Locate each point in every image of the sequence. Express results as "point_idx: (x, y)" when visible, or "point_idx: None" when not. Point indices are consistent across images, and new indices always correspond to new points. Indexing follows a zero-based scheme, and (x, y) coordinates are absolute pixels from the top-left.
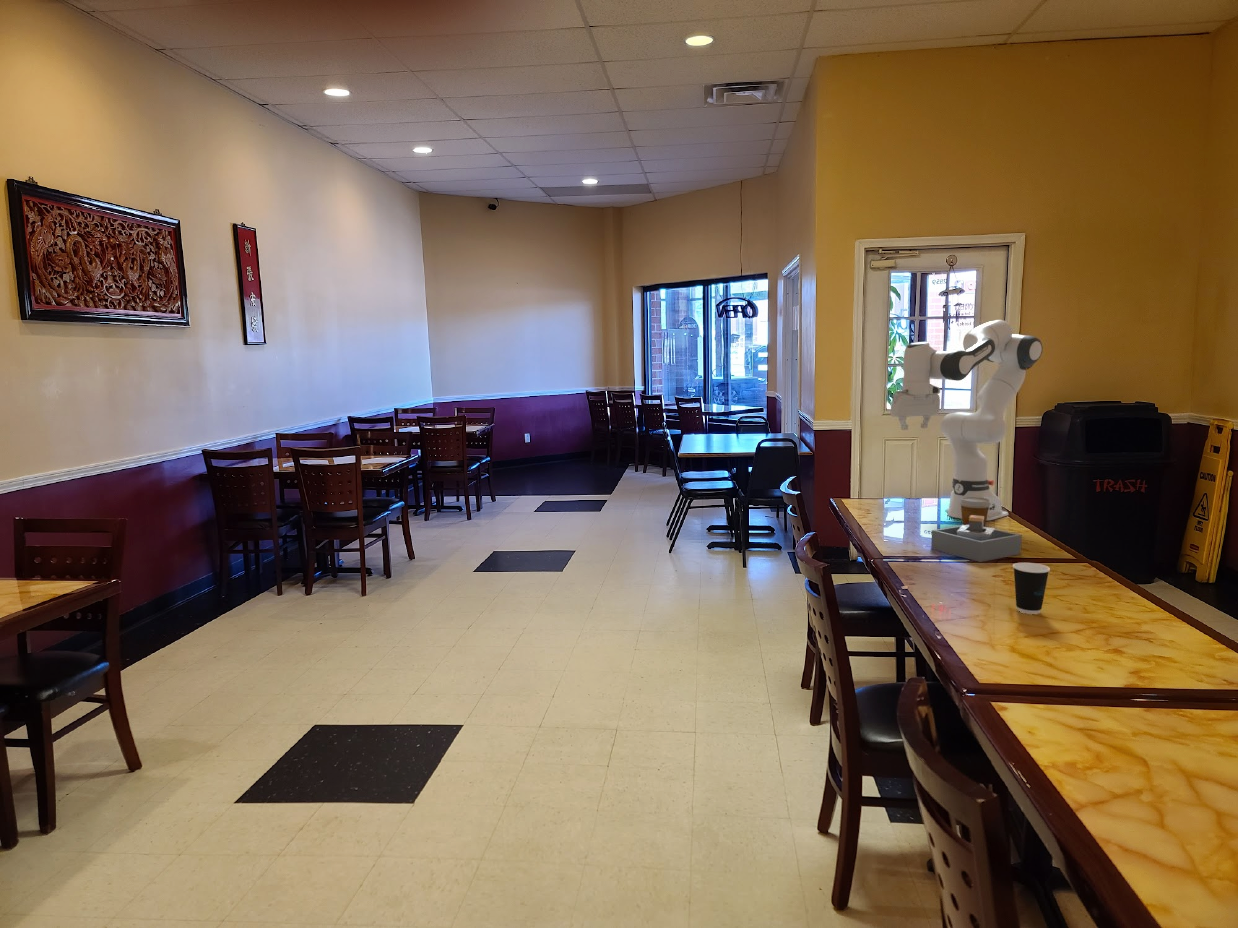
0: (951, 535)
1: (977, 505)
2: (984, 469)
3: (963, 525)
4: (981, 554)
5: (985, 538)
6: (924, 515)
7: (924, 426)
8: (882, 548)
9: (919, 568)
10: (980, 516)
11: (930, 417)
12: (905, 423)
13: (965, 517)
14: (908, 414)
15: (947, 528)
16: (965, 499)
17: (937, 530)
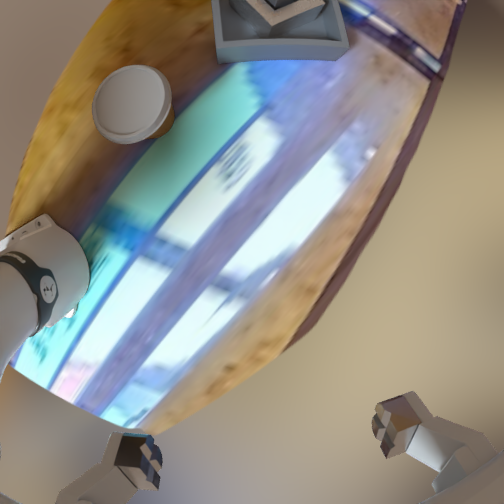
0: (339, 7)
1: (154, 69)
2: None
3: (274, 22)
4: None
5: None
6: (130, 311)
7: (145, 445)
8: (408, 112)
9: (416, 15)
10: None
11: (58, 498)
12: (439, 426)
13: (171, 107)
14: (491, 483)
15: (306, 40)
16: (141, 121)
17: (340, 41)
